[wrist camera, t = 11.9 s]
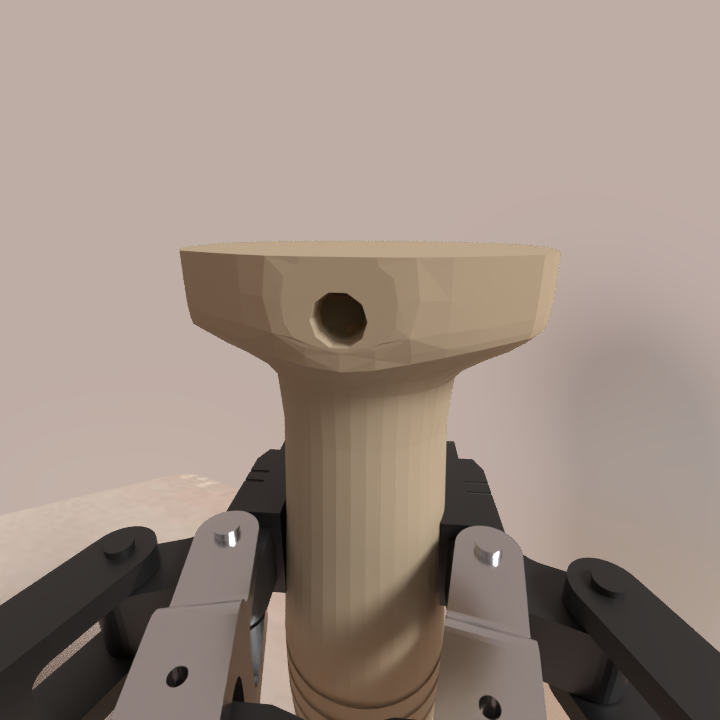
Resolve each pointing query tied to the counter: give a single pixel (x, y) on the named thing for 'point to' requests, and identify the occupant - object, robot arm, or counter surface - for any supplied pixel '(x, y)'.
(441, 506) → the handle
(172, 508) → the counter surface
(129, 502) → the counter surface
